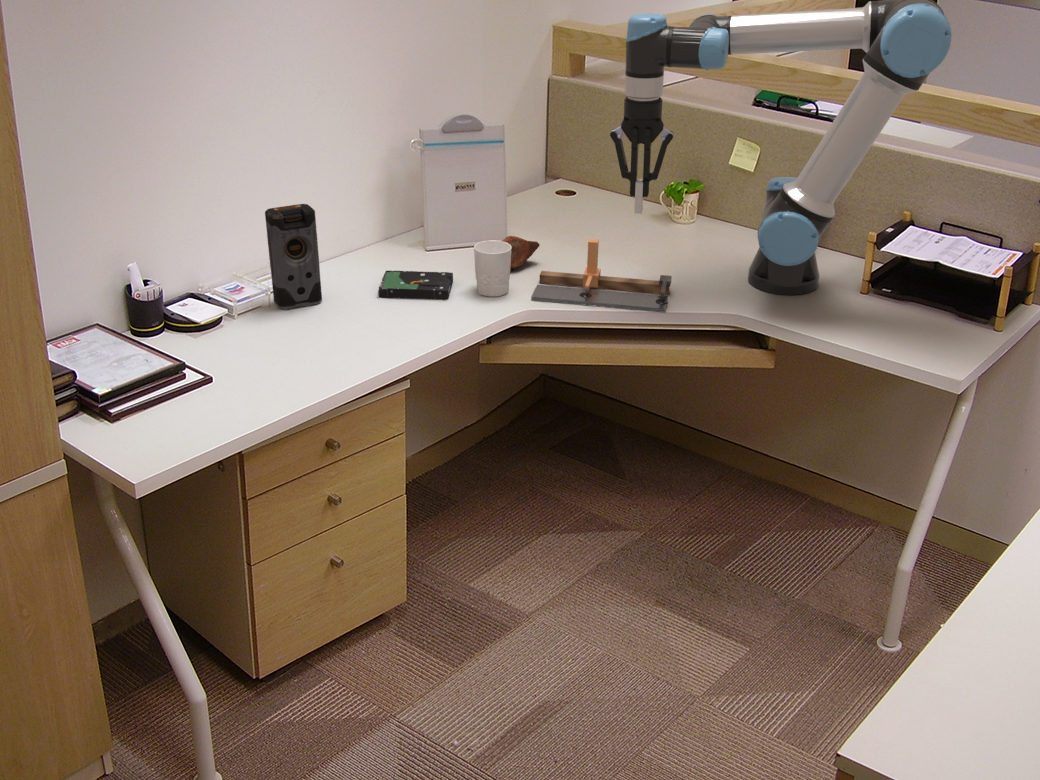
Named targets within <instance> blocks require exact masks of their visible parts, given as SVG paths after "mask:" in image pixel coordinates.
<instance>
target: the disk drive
mask: <svg viewBox="0 0 1040 780" xmlns="http://www.w3.org/2000/svg"><path fill="white" fill-rule="evenodd" d="M453 284H454V274H453V272H449V271H445V272H444V271H415V270H414V271H412V270H385V272H384V274H383V277H382V278H381V282H380V284H379V286H378V290H377V292H378V293H377V295H378V298H379V299H380V298H381V299H406V300H407V299H410V300H412V299H413V300H414V299H415V300H437V301H442V300H443V301H448V300H449V297H450V294H451V290H452V289H453Z"/></svg>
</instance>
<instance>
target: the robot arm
mask: <svg viewBox="0 0 1040 780" xmlns="http://www.w3.org/2000/svg"><path fill="white" fill-rule="evenodd" d="M626 32H627V33H626V39H625V74H624V75H625V76H624V95H625V98H624V99H623V100H624V102H623V103H624V105H623V118H622V119H623V120H622V121H621V124H620V126H618V127H617V128H614V129H612V130H611V131H610V134H609V136H610V138H611V140H612V142H613V143H614V146H615V152H616V155H617V156H616V157H617V162H618V166H619V170H620V174H621V178H622V179H626V180H628V181H629V186H630V187H629V196H630V197H633V198H634V211H633V212H634V214H641V215H642V214H643V213H642V212H643V210H644V198H647V197H648V196H649V193H650V182H651V181H656V180H657V179H658V177H659V176H660V171H661V168H662V164H663V162H664V158H665V154H666V152H667V148H668V146H669V144H670V142H671V141H672V140H673V139H674V134H675V133H674V132H673V131H672V130H670V131H669V130H668V129H667V128H666V127H664V126H665V125H664V122H663V118H662V116H663V99H662V96H663V94H664V79H665V77H664V75H665V68H682V69H683V68H684V69H696V70H699V69H700V70H705V71H709V70H722V69H723V68H725V67H726V65H727V60H728V56H731V55H747V54H748V55H749V54H771V53H795V52H813V51H814V52H815V51H816V52H817V51H832V50H833V51H835V50H838V51H839V50H855V49H859V50H860V49H862V50H863V51H864V52H865V53H866V54H865V55H864V57H863V59H862V64H863V70H864V72H863V74H862V75H861V77H860V78H859V80H858V82H857V83H856V84H855V87H854V88H853V89H852V91H851V93H850V94H849V96H848V98H847V99H846V101H845V103H844V104H843V106H842V107H841V109H840V110H839V112H838V113H837V115H836V117H835V118H834V120H833V121H832V123H830V126H829V127H828V129H827V130H826V132H825V134H824V135H823V137H822V139H821V141H820V142H819V143H818V145H817V147H816V148H815V149H814V151H813V153H812V155H811V156H810V157H809V159H808V161H807V162H806V164H805V165H804V167H803V169H802V171H800V173H799V175H798V177H794V176H779V177H778V176H777V177H772V178H771V179H770V180H768V182H767V188H766V189H765V193H766V194H765V196H766V197H765V201H764V202H765V203H764V208H763V213H762V217H761V221H760V224H759V226H758V230H757V241H758V250H757V251H756V253H755V255H754V257H753V259H752V262H751V264H750V265H749V268H748V274H747V275H748V276H747V281H748V282H749V283H750V285H752V286H753V287H755V288H757V289H758V290H760V291H763V292H768V293H771V294H777V295H785V296H786V295H787V296H790V295H791V296H792V295H793V296H795V295H796V296H797V295H804V294H809V293H811V292H813V291H816V290H817V289H818V287H819V281H820V272H819V267H818V261H817V256H816V251H817V249H818V246H819V245H820V244H819V243H820V238H821V236H822V235H823V234H824V232H825V231H826V229H827V228H828V226H829V225H830V223H831V221H832V220H833V219H834V217H835V215H836V211H835V205H834V203H835V201H836V200H837V199H838V197H839V196H840V194H841V192H842V191H843V189H844V188H845V186H846V185H847V183H848V182H849V181H850V179H851V177H852V176H853V174H854V173H855V171H856V169H858V166H859V165H860V164H861V163H862V161H863V159H864V157H866V155H867V153H868V152H869V150H870V149H871V147H872V146H873V144H874V143H875V141H876V140H877V138H878V137H879V135H880V134H881V132H882V130H883V129H884V127H885V126H886V125H887V123H888V122H889V120H890V119H891V117H892V115H893V114H894V113H895V112H896V110H897V108H898V106H899V105H900V103H901V102H902V101H903V99H904V98H905V96H907V95H910V94H913V93H917V92H918V91H919V90H920V88H921V87H922V85H923V84H924V83H925V81H926V79H927V78H928V76H929V75H930V73H932V72H933V71H935V70H936V69H937V68H938V67H939V66H940V65H941V64H942V63H943V62H944V60H945V59H946V57H947V55H948V53H949V50H950V49H951V42H952V27H951V25H950V22H949V20H948V18H947V16H946V15H945V13H944V11H943V8H942V7H941V6H940V5H939V4H938V3H937V2H935V1H934V0H872V1H871V0H870V1H868V2H867V3H866V4H865V5H864V6H862V7H849V8H848V7H847V8H834V9H833V8H832V9H830V8H829V9H817V10H816V9H815V10H814V9H813V10H802V11H801V10H800V11H799V10H798V11H785V12H784V11H783V12H782V11H781V12H766V13H753V14H751V13H750V14H735V15H720V16H719V15H715V14H711V13H709V14H703V15H700V16H699V17H696V18H695V19H694V20H693V21H692V22H691V24H689V26H671V25H668V22H667V16H665V14H664V15H663V14H659V13H650V12H649V13H647V12H646V13H637V14H633V15H632V16H631V17H629V18H628V21H627V29H626ZM623 133H624V135H625V136H626V138H627V140H628V141H629V142H630V143H631V147H630V149H631V150H630V171H629V167H628V162H627V158H626V153H625V148H624V143H623V139H622V138H623ZM660 134H661V137H660V140H661V141H662V142H661V144H660V148H659V152H658V154H657V159H656V162H655V164H654V168H653V171H651V163H652V162H651V160H652V157H651V156H652V143H654V142H655V140H656V139H657V138H658V137H659V135H660ZM640 144H642V145H643V169H642V170H643V171H642V178H638V164H639V148H640V147H639V146H640Z"/></svg>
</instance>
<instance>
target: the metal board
mask: <svg viewBox="0 0 1040 780" xmlns="http://www.w3.org/2000/svg"><path fill="white" fill-rule="evenodd" d="M530 297H531V299H530V300H531V301H533V300H534V301H535V302H536V301H537V302H547V303H559V304H566V305H567V304H569V305H578V304H585V305H584V306H589V305H596V306H595V307H600V306H605V307H604V308H611V307H614V308H613V309H626V310H634V311H635V310H636V311H645V312H646V311H647V312H655V313H656V312H658V313H666V310H667V305H668V304H669V295H664V300H660V294H651V293H640V292H628V291H617V290H605V289H602V290H601V289H594V288H589V294H585V288H582V287H571V286H560V285H548V284H536V286H535V288H534V290H533V293H532V295H531V296H530Z"/></svg>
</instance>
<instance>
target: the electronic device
mask: <svg viewBox="0 0 1040 780" xmlns="http://www.w3.org/2000/svg"><path fill="white" fill-rule="evenodd" d="M264 216H265V226H266V227H265V228H266V240H267V248H268V255H269V256H268V258H269V269H270V275H271V285H272V293H273V294H272V295H273V302H274V304H275V305H276V307H277V308H279V309H280V310H284V311H285V310H292V309H299V308H303V307H309V306H314V305H319V304H320V303H321V302H323V296H322V295H323V294H322V282H321V272H320V269H321V267H320V256H319V244H318V233H317V223H316V222H317V220H316V211H315V209H314V208H312V206H311V205H309V204H308V203H299V204H298V203H297V204H291V205H285V206H277V207H272V208H267V209H266V210H265V211H264Z"/></svg>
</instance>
